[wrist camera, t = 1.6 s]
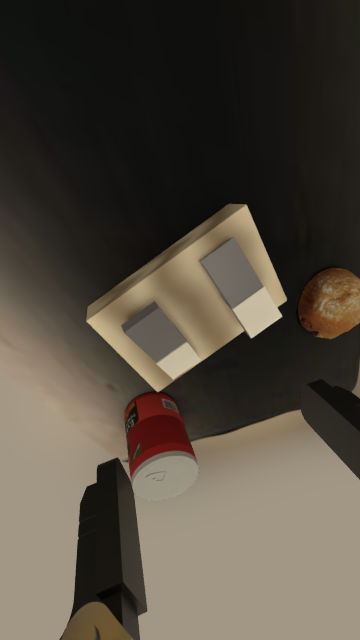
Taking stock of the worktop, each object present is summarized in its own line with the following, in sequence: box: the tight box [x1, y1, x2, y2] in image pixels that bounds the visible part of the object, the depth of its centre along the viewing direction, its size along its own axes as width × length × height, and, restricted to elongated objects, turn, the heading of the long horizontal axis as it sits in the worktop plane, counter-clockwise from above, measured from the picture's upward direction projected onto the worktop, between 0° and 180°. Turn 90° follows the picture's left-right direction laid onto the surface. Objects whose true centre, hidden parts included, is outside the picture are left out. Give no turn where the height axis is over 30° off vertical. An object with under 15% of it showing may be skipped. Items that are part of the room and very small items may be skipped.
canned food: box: [125, 392, 199, 501], centre depth 34 cm, size 8×8×11 cm
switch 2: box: [199, 237, 282, 338], centre depth 28 cm, size 4×10×2 cm, turn 33°
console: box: [86, 204, 287, 392], centre depth 31 cm, size 20×13×4 cm, turn 123°
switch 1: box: [121, 301, 201, 379], centre depth 28 cm, size 4×10×2 cm, turn 32°
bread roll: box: [298, 268, 360, 339], centre depth 37 cm, size 10×10×8 cm
